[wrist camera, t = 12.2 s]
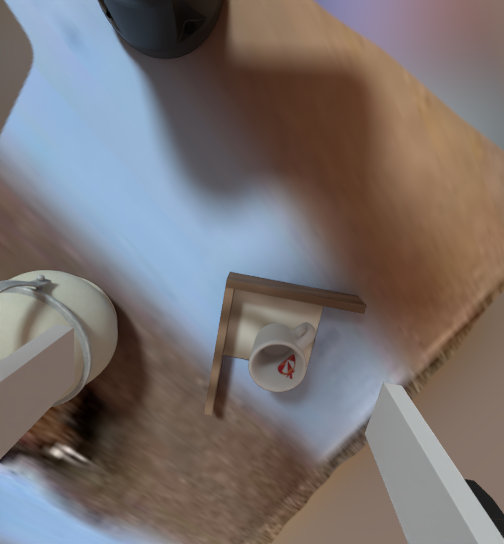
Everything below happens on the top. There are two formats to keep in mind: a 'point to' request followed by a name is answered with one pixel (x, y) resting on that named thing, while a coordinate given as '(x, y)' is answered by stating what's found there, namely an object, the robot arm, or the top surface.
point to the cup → (280, 356)
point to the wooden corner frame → (267, 316)
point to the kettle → (59, 319)
